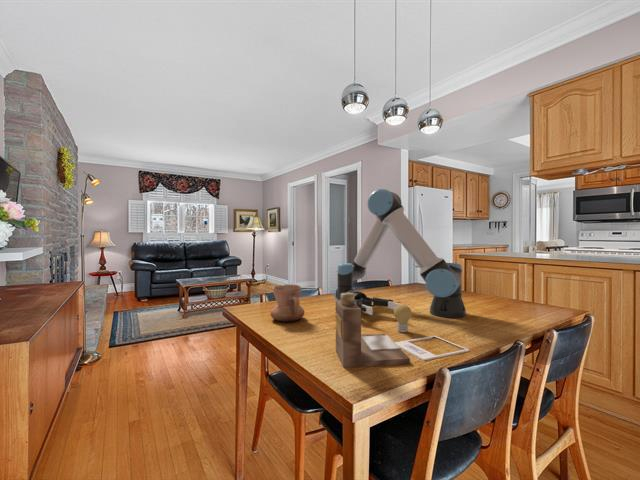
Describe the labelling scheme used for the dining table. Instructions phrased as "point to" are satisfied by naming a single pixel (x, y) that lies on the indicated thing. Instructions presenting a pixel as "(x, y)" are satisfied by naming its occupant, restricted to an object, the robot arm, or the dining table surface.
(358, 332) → the brown l-shaped block
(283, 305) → the ceramic jug
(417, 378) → the dining table surface
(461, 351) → the photo frame
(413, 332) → the dining table surface
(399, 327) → the light bulb
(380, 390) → the dining table surface
